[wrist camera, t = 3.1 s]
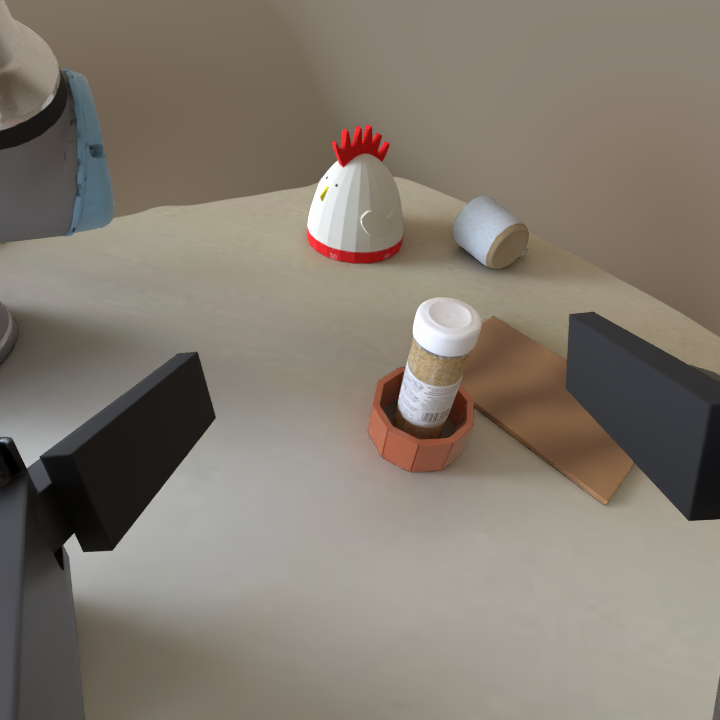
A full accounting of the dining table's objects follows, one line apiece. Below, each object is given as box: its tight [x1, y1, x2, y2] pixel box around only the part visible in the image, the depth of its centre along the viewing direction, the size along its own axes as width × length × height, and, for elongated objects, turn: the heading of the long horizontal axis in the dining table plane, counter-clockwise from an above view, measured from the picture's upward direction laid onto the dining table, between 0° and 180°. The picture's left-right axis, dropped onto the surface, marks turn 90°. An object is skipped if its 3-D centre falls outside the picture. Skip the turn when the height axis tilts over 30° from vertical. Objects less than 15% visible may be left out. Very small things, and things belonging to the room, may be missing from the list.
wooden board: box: [460, 316, 634, 505], centre depth 42 cm, size 20×13×1 cm, turn 43°
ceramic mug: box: [453, 195, 529, 269], centre depth 59 cm, size 11×8×8 cm
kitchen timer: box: [307, 125, 404, 263], centre depth 57 cm, size 14×14×15 cm
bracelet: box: [368, 367, 474, 472], centre depth 37 cm, size 8×9×4 cm
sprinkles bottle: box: [392, 297, 482, 440], centre depth 34 cm, size 5×4×14 cm
